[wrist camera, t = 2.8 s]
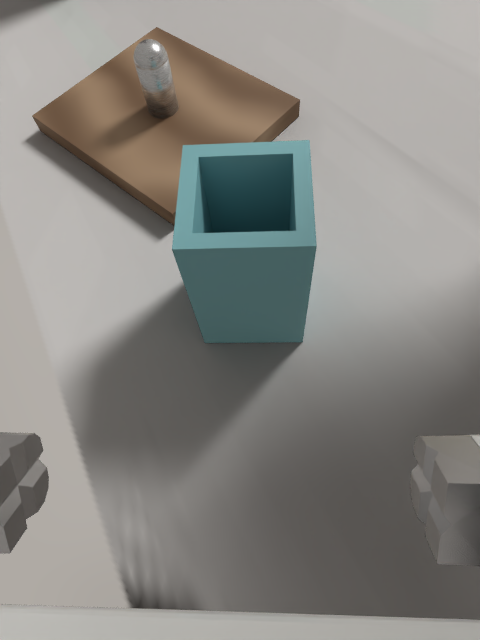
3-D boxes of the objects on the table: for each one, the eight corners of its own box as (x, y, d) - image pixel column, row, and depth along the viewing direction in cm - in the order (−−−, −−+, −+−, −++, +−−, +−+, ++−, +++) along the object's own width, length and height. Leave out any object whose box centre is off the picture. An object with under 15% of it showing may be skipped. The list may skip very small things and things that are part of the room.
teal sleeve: (209, 261, 30) (182, 145, 21) (298, 259, 30) (309, 140, 21) (204, 342, 28) (172, 249, 19) (302, 342, 27) (316, 246, 18)
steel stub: (163, 93, 36) (147, 27, 31) (184, 105, 35) (171, 39, 31) (142, 110, 35) (122, 44, 31) (163, 123, 34) (146, 58, 30)
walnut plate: (160, 43, 41) (156, 27, 40) (298, 116, 36) (299, 99, 35) (40, 131, 37) (32, 115, 36) (176, 227, 32) (172, 214, 31)
